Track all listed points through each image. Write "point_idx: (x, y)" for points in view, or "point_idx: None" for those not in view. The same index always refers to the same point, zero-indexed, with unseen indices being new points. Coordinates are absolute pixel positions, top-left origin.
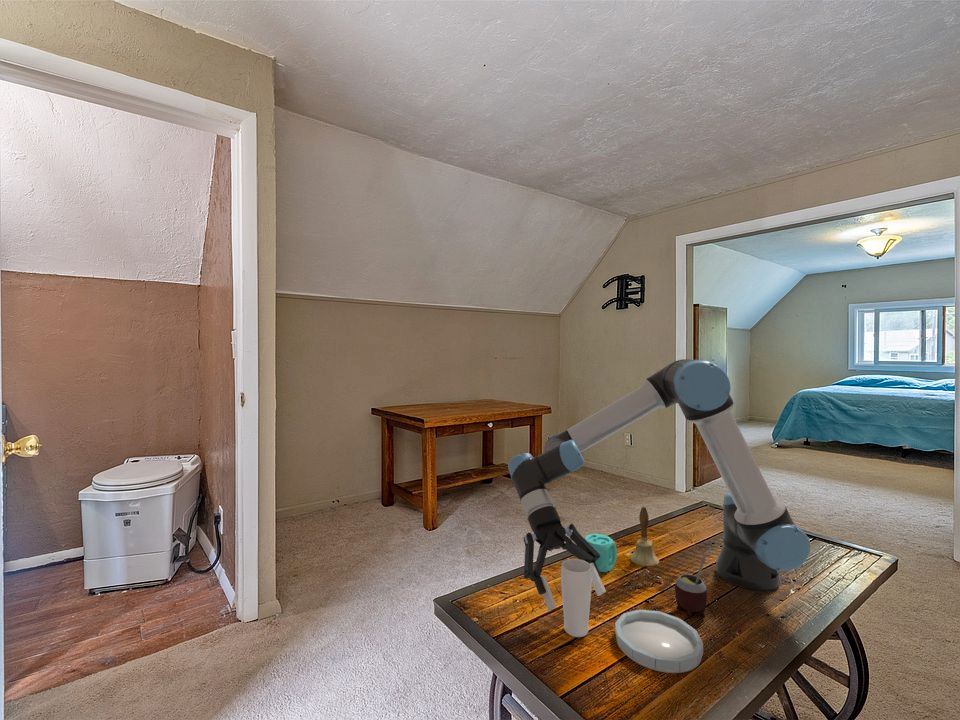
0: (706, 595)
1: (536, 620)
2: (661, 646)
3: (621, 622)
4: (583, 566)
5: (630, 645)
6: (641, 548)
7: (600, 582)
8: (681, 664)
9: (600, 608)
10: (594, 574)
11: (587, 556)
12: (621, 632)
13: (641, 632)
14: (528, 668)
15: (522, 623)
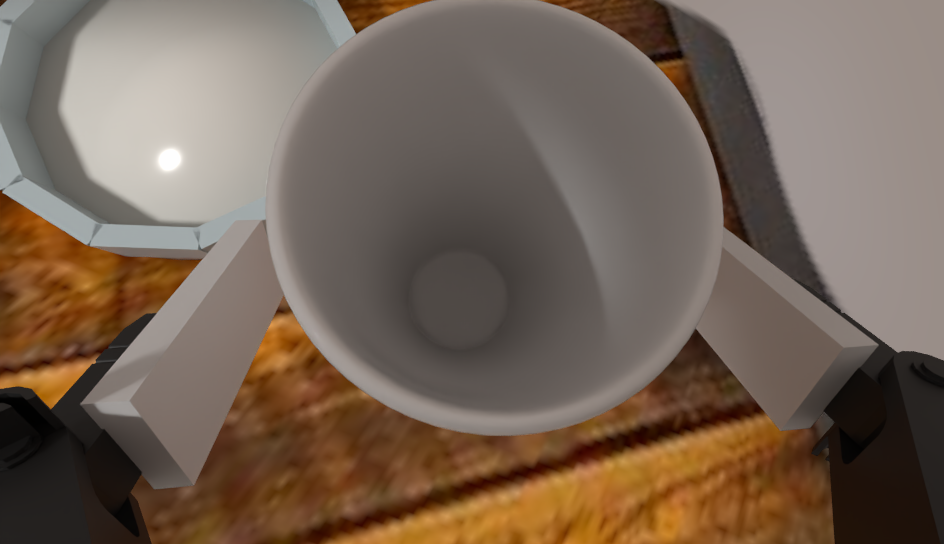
0: None
1: (584, 442)
2: (214, 58)
3: (265, 196)
4: (323, 291)
5: None
6: None
7: (221, 256)
8: None
9: (231, 413)
10: (204, 320)
11: (46, 512)
12: None
13: (214, 154)
14: (729, 192)
15: (654, 445)
